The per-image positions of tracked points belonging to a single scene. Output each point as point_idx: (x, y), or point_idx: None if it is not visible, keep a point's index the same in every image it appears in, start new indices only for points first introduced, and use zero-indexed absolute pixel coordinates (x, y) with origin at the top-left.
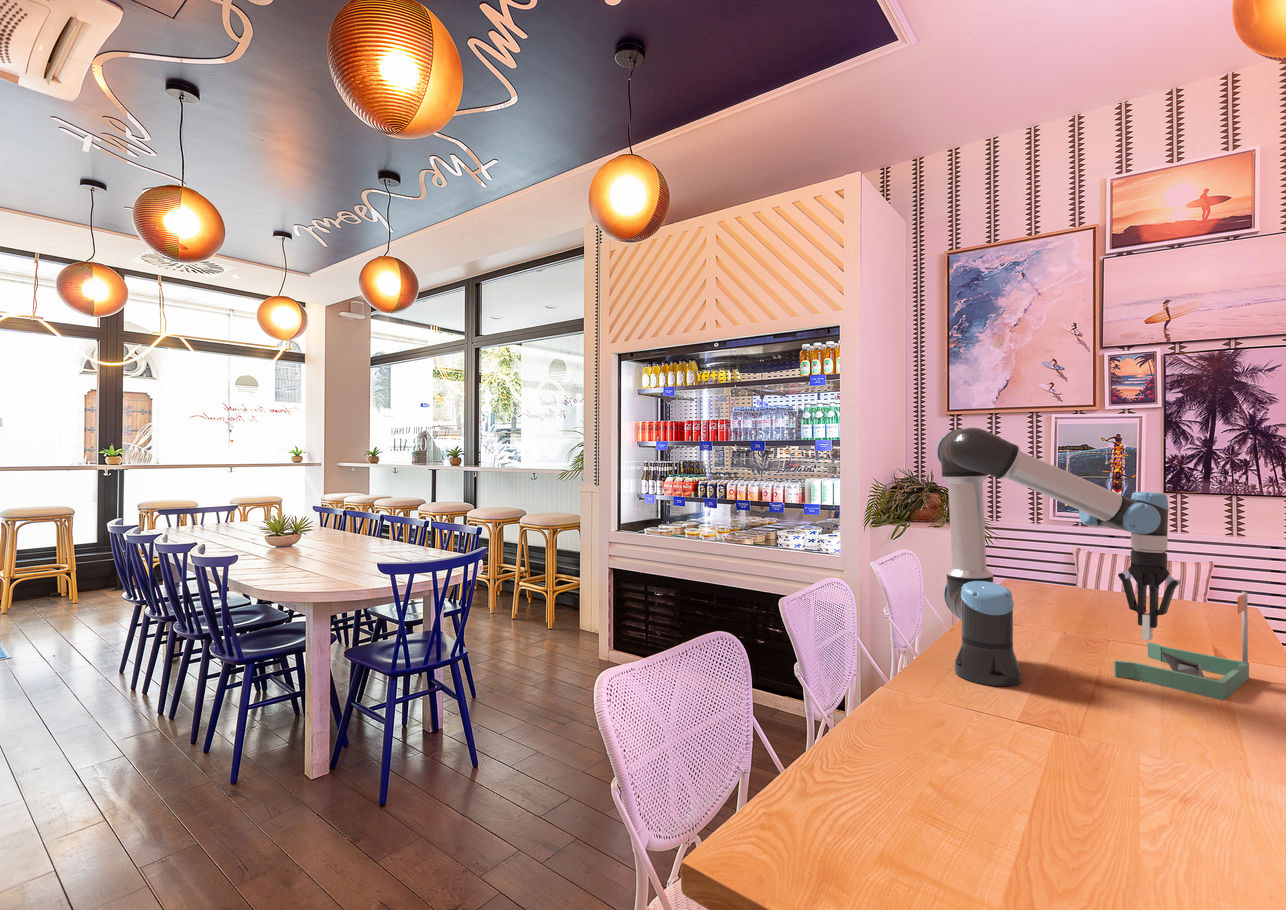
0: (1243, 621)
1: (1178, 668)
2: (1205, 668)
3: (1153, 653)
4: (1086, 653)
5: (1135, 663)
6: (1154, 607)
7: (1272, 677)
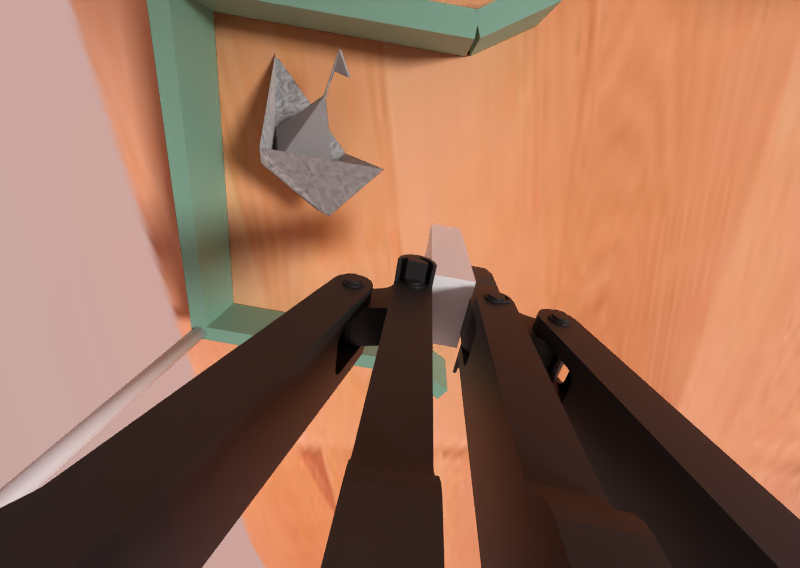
0: (63, 443)
1: (325, 113)
2: None
3: None
4: (612, 281)
5: (471, 15)
6: (393, 307)
7: (194, 359)
